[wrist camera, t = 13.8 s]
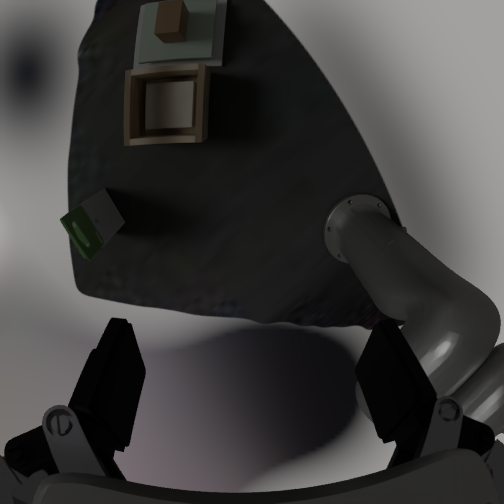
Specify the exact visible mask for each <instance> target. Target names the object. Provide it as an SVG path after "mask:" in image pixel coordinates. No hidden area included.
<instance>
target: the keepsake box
mask: <svg viewBox="0 0 504 504" xmlns="http://www.w3.org/2000/svg"><path fill="white" fill-rule="evenodd" d="M210 76H211V72H210V71H209V69H208V67H207V65H206V64H205V63H199V64H179V65H166V66H156V67H148V68H140V69H133V70H127V71H126V74H125V92H124V146H129V145H143V144H160V143H191V142H203V141H205V140H206V139H208V115H209V94H210Z"/></svg>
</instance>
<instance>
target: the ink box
mask: <svg viewBox="0 0 504 504" xmlns="http://www.w3.org/2000/svg"><path fill="white" fill-rule="evenodd" d="M60 221H61V223H62V224H63V226H64V228H65V229H66V231H67V233H68V234H69V236H70V237H71V239H72V241H73V242H74V244H75V245H76V247H77V248H78V250H79V251H80V253H81V254H82V256H83V257H84V259H85V258H88V260H89V261H91V260H92V258H93V257H94V256H95V255H96V253H97V252H98V251H99V250H101V249H102V248H103V247H104V246H105V244H106V243H107V242H108V241H109V240H110V239H111V238H112V237H113V236H114V234H115V233H116V232H117V231H118V230H119V229H120V228H121V227H122V226H123V225H124V223H125V221H124V219H123V218H122V216H121V215H120V213H119V211H118V210H117V208H116V206H115V205H114V203H113V201H112V200H111V198H110V196H109V194H108V193H107V191H106V189H105V188H104V189H102V190H101V191H99V192H98V193H96V194H95V195H93V196H92V197H90V198H89V199H87V200H86V201H84V202H83V203H81V204H80V205H78V206H77V207H75V208H74V209H73V210H71V211H70V212H69V213H67V214H66V215H65V216H63V217H62V218H61V219H60Z"/></svg>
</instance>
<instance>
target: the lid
mask: <svg viewBox="0 0 504 504" xmlns="http://www.w3.org/2000/svg"><path fill="white" fill-rule="evenodd" d="M217 1H218V0H169V1H161V2H154V3H148V4H146V5H145V11H144V17H143V23H142V30H141V38H140V47H139V57H138V63H139V64H146V63H155V62H165V61H177V60H197V59H212V51H213V40H214V29H215V19H216V10H217Z"/></svg>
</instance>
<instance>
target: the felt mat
mask: <svg viewBox="0 0 504 504" xmlns="http://www.w3.org/2000/svg"><path fill="white" fill-rule="evenodd" d="M226 8H227V0H218V1H217V10H216V19H215V29H214V40H213V51H212V59H197V60H177V61H165V62H155V63H146V64H139V63H138V57H139V47H140V38H141V30H142V23H143V17H144V11H145V5H142V6H141V9H140V15H139V22H138V29H137V37H136V46H135V56H134V68H133V69H140V68H148V67H156V66H166V65H179V64H199V63H205V64H206V65H207V66H222V56H223V43H224V30H225V19H226Z"/></svg>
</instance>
